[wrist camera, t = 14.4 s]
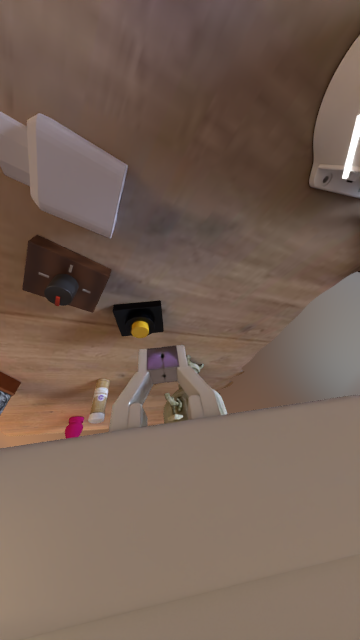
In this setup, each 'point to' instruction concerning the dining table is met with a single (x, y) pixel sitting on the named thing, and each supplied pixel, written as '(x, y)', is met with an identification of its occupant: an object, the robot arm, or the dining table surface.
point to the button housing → (138, 316)
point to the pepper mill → (74, 427)
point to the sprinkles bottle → (99, 401)
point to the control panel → (63, 272)
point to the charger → (63, 172)
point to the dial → (61, 289)
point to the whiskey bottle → (7, 389)
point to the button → (140, 329)
